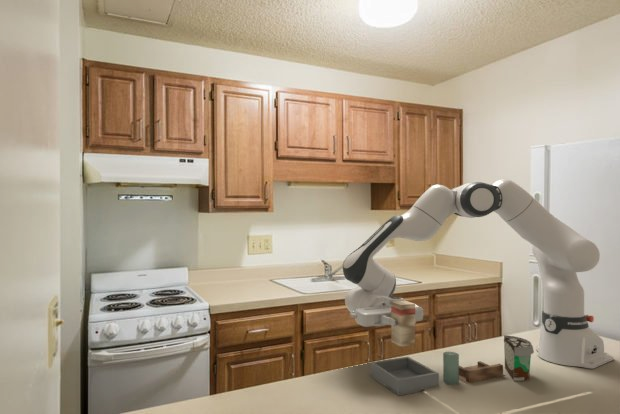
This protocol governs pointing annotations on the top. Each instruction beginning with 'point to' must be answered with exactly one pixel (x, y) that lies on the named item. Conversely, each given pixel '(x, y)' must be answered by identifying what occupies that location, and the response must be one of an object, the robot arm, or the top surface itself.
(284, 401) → the top surface
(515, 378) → the food container
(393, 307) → the birch block
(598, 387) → the top surface
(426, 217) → the robot arm
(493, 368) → the walnut rack
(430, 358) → the top surface
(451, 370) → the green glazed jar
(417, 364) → the grey tray
